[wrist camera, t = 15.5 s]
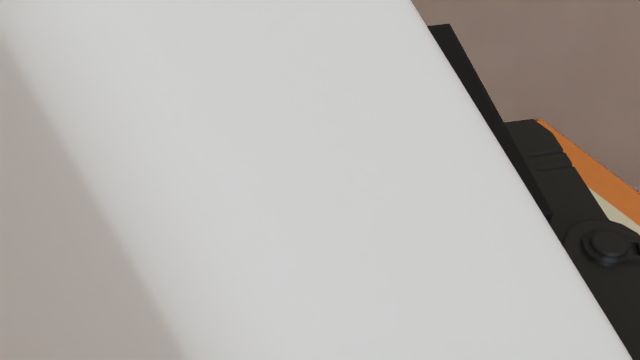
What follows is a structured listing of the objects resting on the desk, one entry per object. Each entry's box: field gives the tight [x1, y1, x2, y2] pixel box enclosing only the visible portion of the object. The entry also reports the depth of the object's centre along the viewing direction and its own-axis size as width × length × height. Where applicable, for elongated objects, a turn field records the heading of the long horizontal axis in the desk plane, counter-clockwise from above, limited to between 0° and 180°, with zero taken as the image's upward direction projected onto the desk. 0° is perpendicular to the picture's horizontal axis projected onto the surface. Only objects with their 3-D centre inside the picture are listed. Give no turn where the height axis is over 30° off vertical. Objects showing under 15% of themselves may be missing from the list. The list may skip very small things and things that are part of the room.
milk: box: [0, 0, 632, 360], centre depth 13 cm, size 6×6×22 cm
